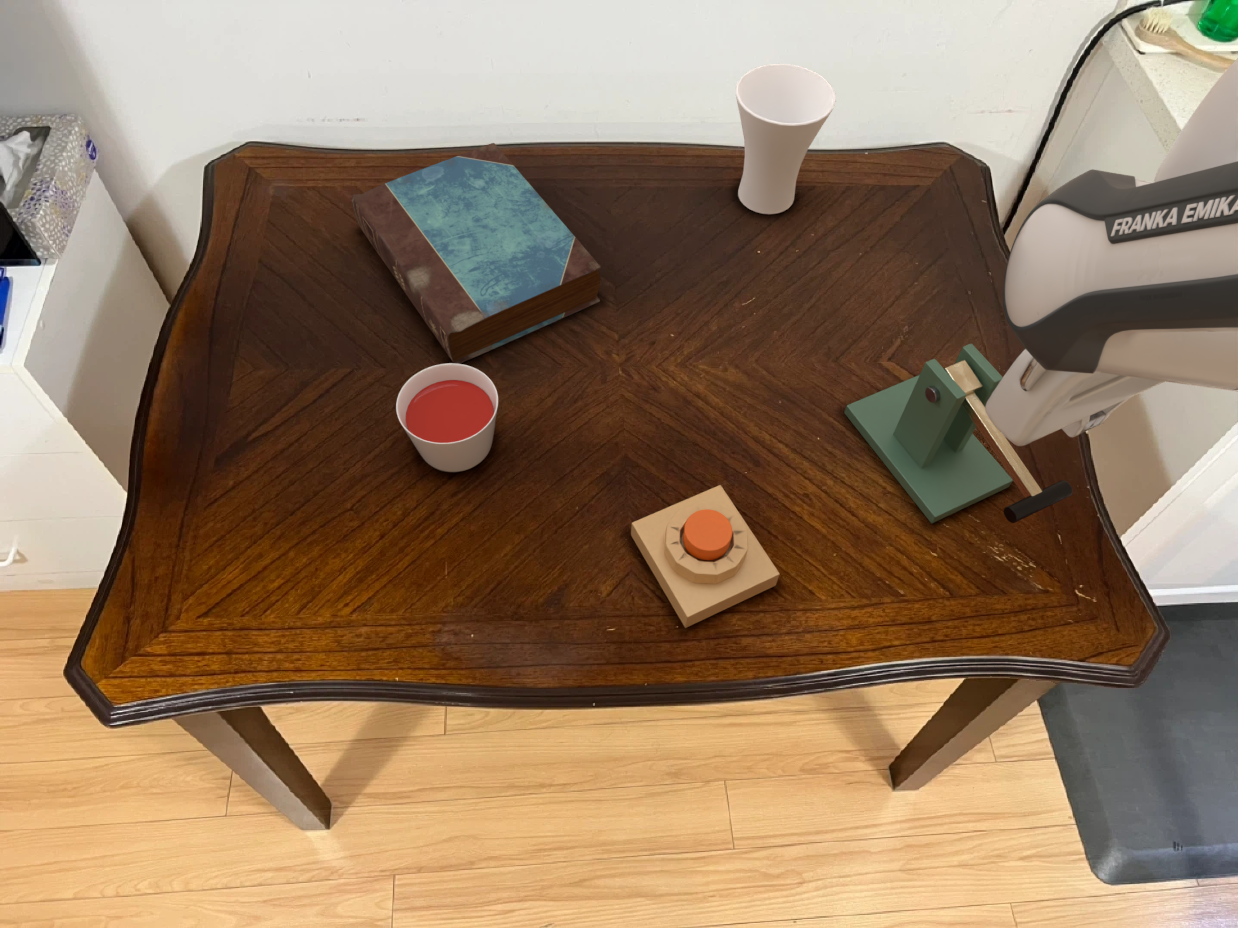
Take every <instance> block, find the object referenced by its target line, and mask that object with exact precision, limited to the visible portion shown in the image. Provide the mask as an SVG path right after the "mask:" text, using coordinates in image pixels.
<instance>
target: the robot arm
mask: <svg viewBox="0 0 1238 928" xmlns="http://www.w3.org/2000/svg"><path fill="white" fill-rule="evenodd" d="M1002 304H1003V311H1004V312H1003V313H1004V316H1005V319H1006V322H1007V323H1008V325H1009V327H1010V329H1011V330H1012V332H1013V333H1014V335H1015V337H1016V338H1017V340H1018V341H1019V342H1020V343H1021V344H1022V347H1023V348H1024V349H1023V350H1022V352H1021V353H1020V354H1019V355H1018V356H1017V357H1016V359H1015V360H1014V361H1013V363H1012V364H1011V365H1010V367H1009V368H1008V369H1007V371H1006V372H1005V374H1004V375H1003V376H1002V377H1003V378H1002V379H1001V381H1000V382H999V384H998V385H997V387H996V388H995V390H994V391H993V393H992V395H991V396H990V398H989V399H988V401H987V403H986V406H985V410H986V413H987V415H988V417H989V418H990V420H991V421H992V423H993V424H994V425H995V426H996V427H997V429H998V430H999V431H1000V432H1001V433H1002V434H1003V435H1004V436H1005V437H1006V439H1007V440H1008V442H1011V443H1012V444H1014V445H1015V446H1016V447H1024V446H1027V445H1029V444H1031V443H1033V442H1035V441H1037V440H1040V439H1042V438H1044V437H1046V436H1048V435H1050V434H1054V433H1055V432H1057V431H1059V430H1062V431H1063V432H1064V433H1065V435H1066V436H1068V437H1069V438H1075V437H1077V436H1080V435H1081V434H1083V433H1085V432H1088V431H1090V430H1091V429H1094V428H1097V427H1099V426H1101V425H1103V424H1105V422H1106V421H1107V420H1108V418H1109V417H1110V416H1111V414H1112V413H1113V412H1114V411H1116V410H1117V409H1119V408H1120V407H1121V406H1122V405H1123V404H1125V403H1126V402H1127V401H1128V400H1130V399H1131V398H1132V397H1135V396H1137V395H1139V394H1141V393H1144V392H1146V391H1148V390H1150V389H1152V388H1155V387H1157V386H1159V385H1161V384H1164V383H1165V382H1166V383H1173V384H1180V385H1187V386H1195V387H1203V388H1209V389H1217V390H1224V391H1231V392H1236V393H1237V392H1238V57H1237V58H1236V60H1234V61H1233V62H1232V63H1231V64H1230V66H1228V68H1227V69H1226V70H1225V71H1224V72H1223V73H1222V75H1221V76H1220V77H1219V78H1218V80H1217V81H1216V82H1215V83H1214V84H1213V86H1211V88H1210V89H1209V91H1208V92H1207V94H1206V95H1205V96H1204V97H1203V99H1202V100H1201V101H1200V103H1199V104H1198V106H1197V107H1196V109H1195V110H1194V111H1193V113H1192V114H1191V116H1190V117H1189V118H1188V120H1187V121H1186V123H1185V125H1184V126H1183V128H1182V129H1181V131H1180V132H1179V134H1178V135H1177V136H1176V138H1175V140H1174V141H1173V143H1172V145H1171V146H1170V147H1169V150H1168V151H1167V153H1166V155H1165V156H1164V158H1163V160H1161V163H1160V165H1159V166H1158V168H1157V170H1156V174H1155V177H1154V180H1153V181H1152V180H1145V179H1138V178H1137V179H1136V176H1134V175H1129V174H1122V173H1116V172H1110V171H1104V170H1100V169H1099V170H1098V169H1089V170H1087V171H1085V172H1084V173H1081V174H1079V175H1078V176H1076V177H1073V178H1072V179H1070V180H1068V181H1067V182H1066V183H1064V184H1062V185H1061V186H1059V187H1058V188H1056V189H1055V190H1053V191H1052V192H1051V193H1050V194H1048V195H1047V196H1046V197H1045V198H1043V199H1042V200H1041V201H1039V203H1037V204H1036V205H1035V206H1034V207H1033V208H1032V209H1031V211H1029V213H1028V214H1027V216H1026V217H1025V219H1024V220H1023V222H1022V224H1021V225H1020V227H1019V229H1018V231H1017V233H1016V235H1015V238H1014V240H1013V243H1012V245H1011V249H1010V252H1009V255H1008V258H1007V261H1006V267H1005V270H1004V277H1003V286H1002Z"/></svg>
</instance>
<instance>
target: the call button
mask: <svg viewBox="0 0 1238 928" xmlns="http://www.w3.org/2000/svg"><path fill="white" fill-rule="evenodd" d="M705 509H709V510H715V511H717V512H720V513H721V514H723V515H724V516H725V517H726V518H727V519H728V520H729V522H730V524H731V526H732V538H731V542H730V546H729V548H728V550H727V552H726V553H725V554H724V555H723V556H721V557H720V558H718V559H715V560H701V559H698V558H696V557H694V556H692V555H691V554H690V553H689V552H688V551H687V549H686V548H685V546H684V543H683V533H684V527H685V523H686V521H687V519H688V518H689V516H691V515H692V514H693V513H695V512H697V511H699V510H705ZM630 536H631V538H632V539H633V541H634V543H635V545H636V547H637V548H638V550H639V552H640V553H641V555H642V557H643V558H644V560H645V562H646V564H647V565H648V567H649V569H650V571H651V572H652V574H653V576H654V577H655V579H656V580H657V582H658V584H659V586H660V588H661V589H662V591H663V593H664V594H665V596H666V597H667V599H668V602H669V603H670V605H671V606H672V608H673V609H674V611H675V613H676V615H677V617H678V619H679V620H680V622H681V623H682V625H683V627H684V629H687V628H688V627H690V626H693V625H695V624H697V623H699V622H702V621H703V620H706V619H708V618H710V617H712V616H714V615H716V614H719V613H720V612H723V611H725V610H727V609H729V608H731V607H733V606H735V605H737V604H739V603H742V602H744V601H746V600H748V599H750V598H753V597H754V596H757V595H759V594H761V593H763V592H765V591H767V590H769V589H771V588H773V587H776V585H777V583H778V581H779V577H780V574H781V573H780V572H779V570H778V569H777V567H776V566H775V564H774V563H773V561H772V560H771V558H770V556H769V555H768V554H767V552H766V551H765V550H764V548H763V546H762V545H761V543H760V541H759V540H758V539H757V537H756V536H755V534H754V533H753V532H752V530H751V528H750V527H749V526H748V524H747V522H746V521H745V519H744V518H743V516H742V515H741V513H740V512H739V511H738V509H737V508H736V506H735V504H734V503H733V501H732V500H731V498H730V497H729V495H728V494H727V492H726V491H725V490H724V488H723V486H722V485H721V484H719V485H717V486H715V487H714V486H713V487H712V488H710V489H707V490H704V491H703V492H700V493H698V494H695V495H693V496H690V497H688V498H686V499H684V500H682V501H679V502H676V503H674V504H672V505H670V506H667V507H665V508H663V509H661V510H658V511H656V512H654V513H651V514H649V515H647V516H644V517H642V518H640V519H638V520H635V521H633V522H631V528H630Z"/></svg>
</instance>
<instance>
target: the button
mask: <svg viewBox="0 0 1238 928" xmlns="http://www.w3.org/2000/svg"><path fill="white" fill-rule="evenodd" d="M731 538H732V526H731V524H730V522H729V520H728V519H727V518H726V517H725V516H724V515H723V514H721V513H720V512H717V511H715V510H709V509H705V510H699V511H697V512H695V513H693V514H692V515H691V516H689V518H688V519H687V521H686V523H685V527H684V533H683V543H684V546H685V548H686V549H687V551H688V552H689V553H690V554H691V555H692V556H694V557H696V558H698V559H701V560H715V559H718V558H720V557H721V556H723V555H724V554H725V553H726V552H727V550H728V548H729V546H730V542H731Z"/></svg>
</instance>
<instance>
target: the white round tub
mask: <svg viewBox="0 0 1238 928" xmlns="http://www.w3.org/2000/svg"><path fill="white" fill-rule="evenodd" d="M395 403H396V404H395V411H396V415H397V420H398V421H399V423H400V426H401V427H402V428H403V430H404V432H405V433H406V435H407V437H408V438H409V439H410V441H411V443H412V444H413V446H414V447H415V449H416V450H417V452H418V453H419V455H420V456H421V458H422V459H423V460H424V462H425V463H427V464H428V465H429V466H431V467H432V468H434V469H436V470H438V471H441V472H446V473H459V472H464V471H467V470H470V469H472V468H474V467H476V466H477V465H479V464H480V463H482V462H483V460H485V458H486V457H487V456H488V455H489V453H490V451H491V449H492V444H493V441H494V435H495V428H496V423H497V422H496V421H497V415H498V409H499V393H498V391H497V387H496V386H495V384H494V382H493V381H492V379H490V378H489V376H488V375H486V374H485V373H484V372H483V371H481V370H479V369H478V368H476V367H473V366H470V365H467V364H462V363H461V364H455V363H453V362H449V363H440V364H439V363H438V364H436V365H432V366H429V367H426V368H424V369H422V370H420V371H418V372H417V373H415V374H414V375H412V376H411V377H409V379H408V380H406V382H405V383H404V384H403V385H402V387H401V389H400V391H399V392H398V395H397V397H396V402H395Z"/></svg>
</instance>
